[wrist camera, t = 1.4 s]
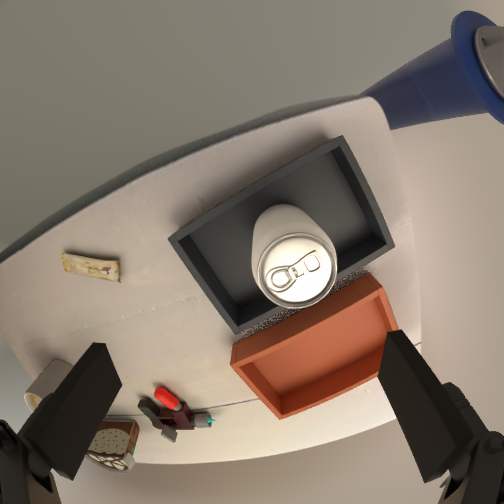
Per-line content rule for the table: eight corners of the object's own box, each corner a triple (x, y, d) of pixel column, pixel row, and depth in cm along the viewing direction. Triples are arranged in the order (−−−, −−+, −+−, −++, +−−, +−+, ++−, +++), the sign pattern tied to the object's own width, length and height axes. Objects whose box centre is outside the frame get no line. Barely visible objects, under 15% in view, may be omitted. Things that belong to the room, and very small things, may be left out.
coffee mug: (69, 356, 38) (40, 391, 28) (101, 398, 40) (79, 435, 31) (34, 364, 39) (9, 392, 30) (62, 400, 42) (42, 431, 32)
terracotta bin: (369, 272, 32) (382, 286, 28) (396, 341, 35) (408, 358, 31) (232, 344, 35) (229, 365, 31) (278, 399, 38) (279, 420, 34)
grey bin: (331, 138, 28) (342, 134, 24) (379, 236, 31) (395, 246, 27) (178, 229, 31) (167, 238, 27) (237, 315, 34) (235, 334, 30)
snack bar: (64, 273, 32) (58, 256, 30) (69, 266, 33) (63, 249, 32) (120, 284, 32) (115, 266, 30) (125, 276, 33) (120, 258, 32)
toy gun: (219, 420, 40) (216, 442, 36) (156, 421, 41) (150, 441, 37) (200, 381, 37) (194, 404, 33) (132, 384, 38) (122, 404, 34)
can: (242, 221, 30) (232, 255, 19) (295, 192, 29) (319, 208, 18) (271, 270, 32) (277, 327, 20) (322, 243, 31) (356, 287, 19)
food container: (112, 437, 44) (97, 470, 35) (95, 419, 43) (78, 452, 33) (157, 439, 43) (145, 478, 34) (141, 420, 41) (125, 460, 32)
